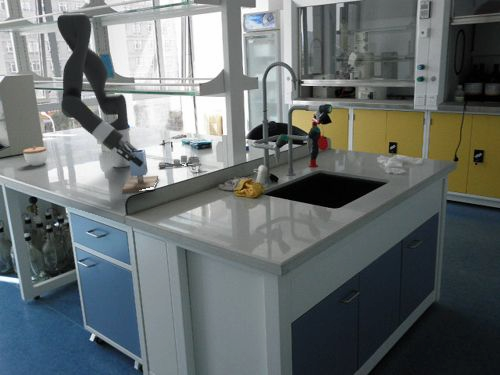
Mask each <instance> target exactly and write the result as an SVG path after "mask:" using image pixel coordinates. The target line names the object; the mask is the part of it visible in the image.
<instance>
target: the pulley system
mask: <svg viewBox="0 0 500 375" xmlns="http://www.w3.org/2000/svg"><path fill="white" fill-rule="evenodd" d="M172 161H173V163H171V162H170V163H169V162H166V161H159V163H158V168H174V167H173V166H184V165H182V164H185V163H188V164H193V167H196V166H199V167H200V164H199V162H200V163H201V160H200V157H199V156H187V155H180V159H173V160H172ZM188 164H187V165H188Z"/></svg>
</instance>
